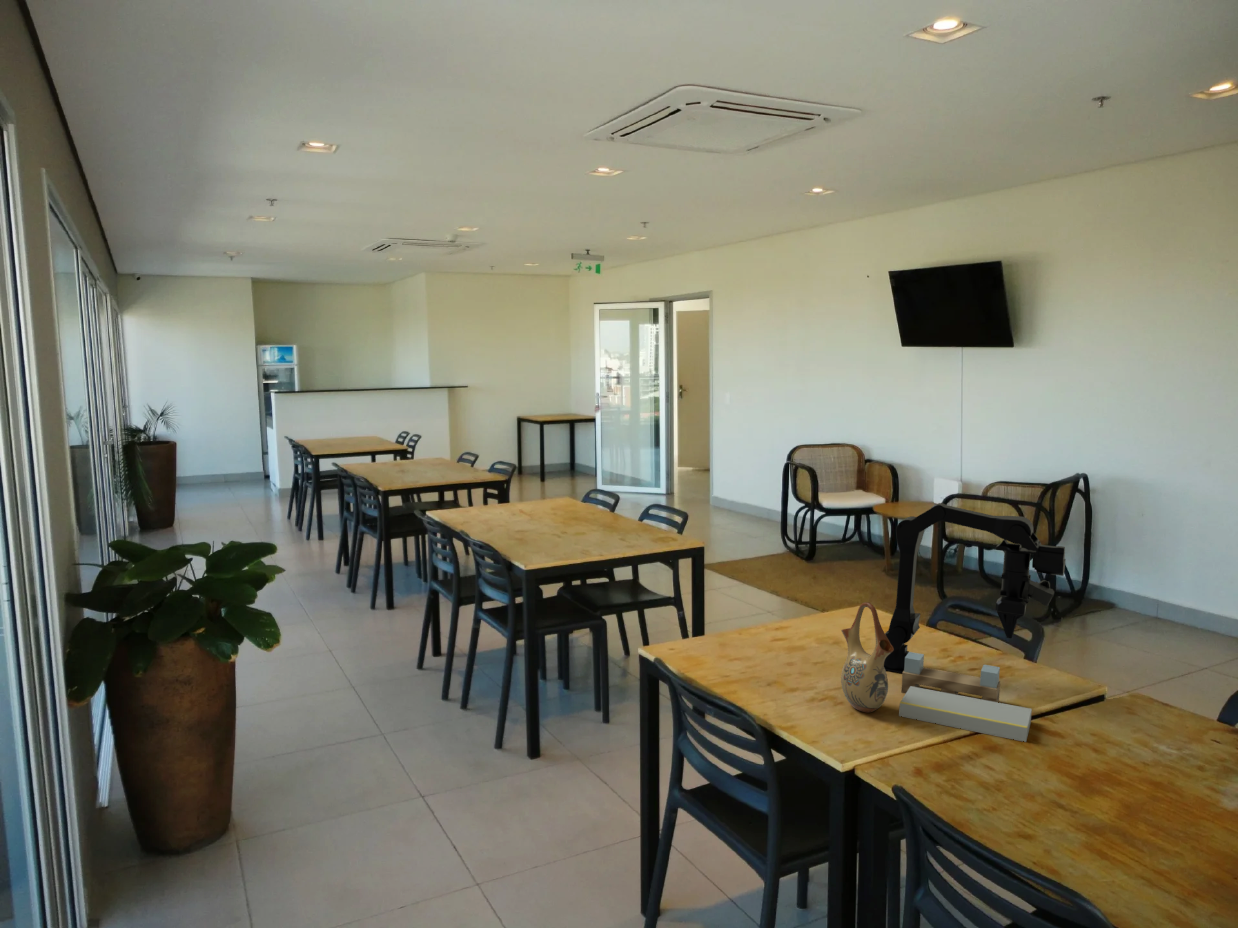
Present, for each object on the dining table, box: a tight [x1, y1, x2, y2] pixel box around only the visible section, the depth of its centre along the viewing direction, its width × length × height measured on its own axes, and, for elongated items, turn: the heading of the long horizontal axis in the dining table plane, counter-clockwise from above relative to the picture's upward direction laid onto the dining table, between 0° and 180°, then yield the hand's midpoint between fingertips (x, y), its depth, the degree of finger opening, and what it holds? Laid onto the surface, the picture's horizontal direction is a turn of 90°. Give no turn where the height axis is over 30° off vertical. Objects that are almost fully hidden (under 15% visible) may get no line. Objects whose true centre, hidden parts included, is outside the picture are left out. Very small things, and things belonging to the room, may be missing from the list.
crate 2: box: [979, 664, 1001, 688], centre depth 202 cm, size 4×5×4 cm
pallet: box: [901, 666, 1001, 702], centre depth 207 cm, size 21×6×5 cm, turn 61°
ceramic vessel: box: [840, 601, 894, 713], centre depth 198 cm, size 16×9×25 cm, turn 22°
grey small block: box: [904, 651, 925, 674], centre depth 211 cm, size 4×5×4 cm
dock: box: [898, 686, 1033, 743], centre depth 194 cm, size 26×12×3 cm, turn 61°
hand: (1011, 632), depth 211 cm, fingers open, 9 cm apart
